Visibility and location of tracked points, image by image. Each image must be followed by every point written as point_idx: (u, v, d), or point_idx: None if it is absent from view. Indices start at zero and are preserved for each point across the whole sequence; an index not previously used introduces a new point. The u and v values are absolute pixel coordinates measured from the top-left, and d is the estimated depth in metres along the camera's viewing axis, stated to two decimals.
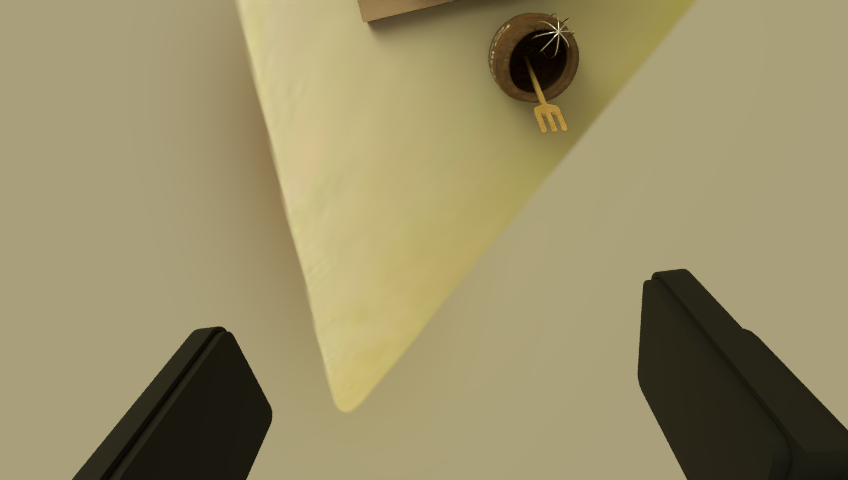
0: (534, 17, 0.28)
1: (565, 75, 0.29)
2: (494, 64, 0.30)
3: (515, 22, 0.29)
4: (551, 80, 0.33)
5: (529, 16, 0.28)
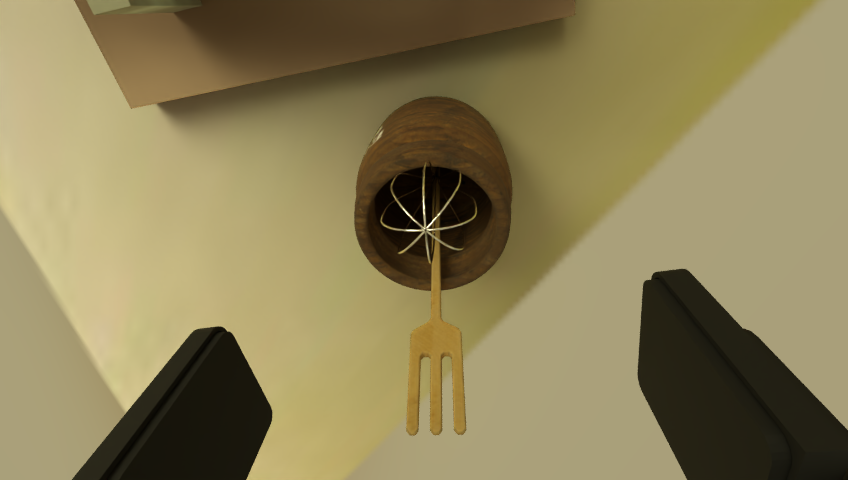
0: (423, 127, 0.14)
1: (489, 237, 0.15)
2: None
3: (389, 132, 0.14)
4: (480, 211, 0.19)
5: (415, 123, 0.14)
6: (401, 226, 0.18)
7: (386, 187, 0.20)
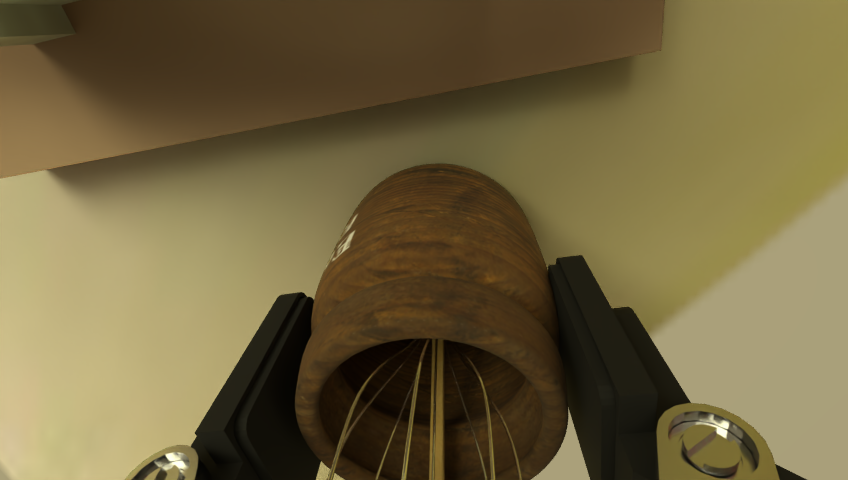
0: (416, 244, 0.08)
1: (525, 415, 0.09)
2: None
3: (361, 244, 0.09)
4: None
5: (403, 233, 0.08)
6: (388, 346, 0.13)
7: None
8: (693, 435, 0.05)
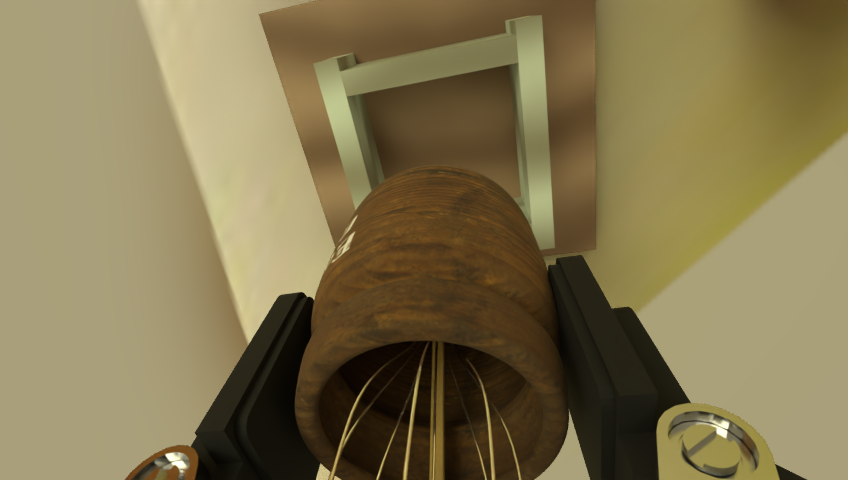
0: (416, 245, 0.08)
1: (526, 417, 0.09)
2: None
3: (361, 246, 0.09)
4: None
5: (403, 234, 0.08)
6: (388, 348, 0.13)
7: None
8: (693, 435, 0.05)
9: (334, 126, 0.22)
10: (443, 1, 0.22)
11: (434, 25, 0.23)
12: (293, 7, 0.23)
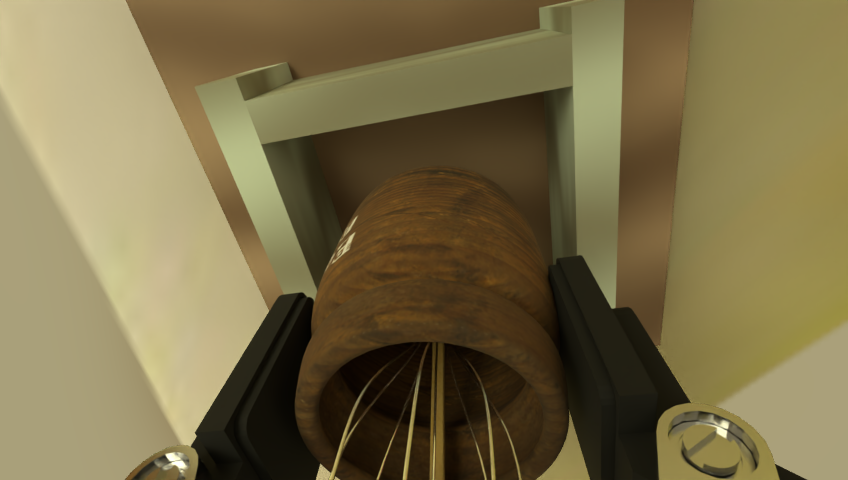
0: (416, 246, 0.08)
1: (526, 417, 0.09)
2: None
3: (361, 247, 0.09)
4: None
5: (403, 235, 0.08)
6: (388, 348, 0.13)
7: None
8: (693, 435, 0.05)
9: (245, 193, 0.13)
10: None
11: (419, 16, 0.14)
12: None
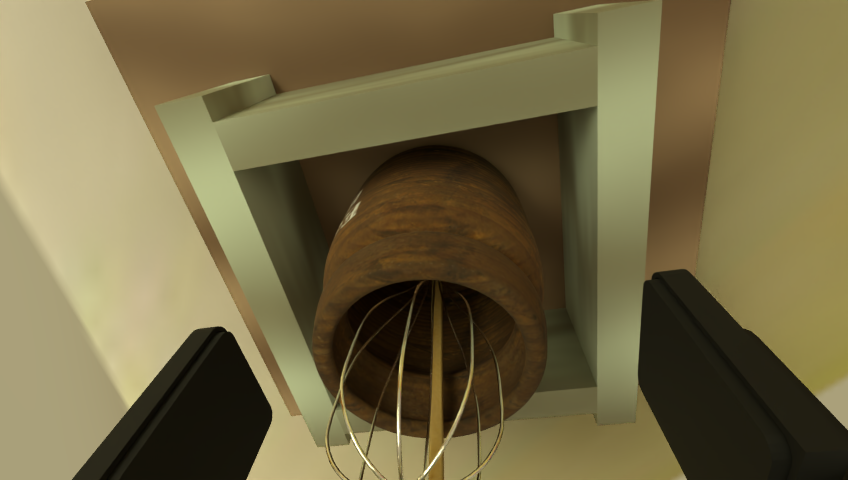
0: (414, 207, 0.09)
1: (514, 358, 0.10)
2: None
3: (366, 211, 0.10)
4: None
5: (402, 199, 0.10)
6: (392, 314, 0.14)
7: None
8: None
9: (217, 225, 0.11)
10: None
11: (417, 23, 0.12)
12: None
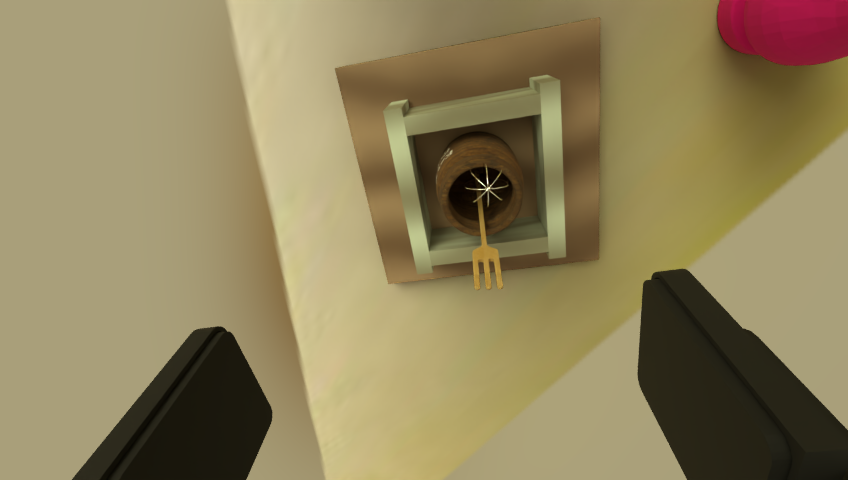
0: (476, 148, 0.26)
1: (511, 207, 0.27)
2: (437, 190, 0.28)
3: (457, 151, 0.27)
4: (503, 198, 0.31)
5: (471, 146, 0.26)
6: (456, 207, 0.31)
7: None
8: None
9: (395, 158, 0.28)
10: (481, 62, 0.28)
11: (473, 80, 0.29)
12: (362, 64, 0.29)
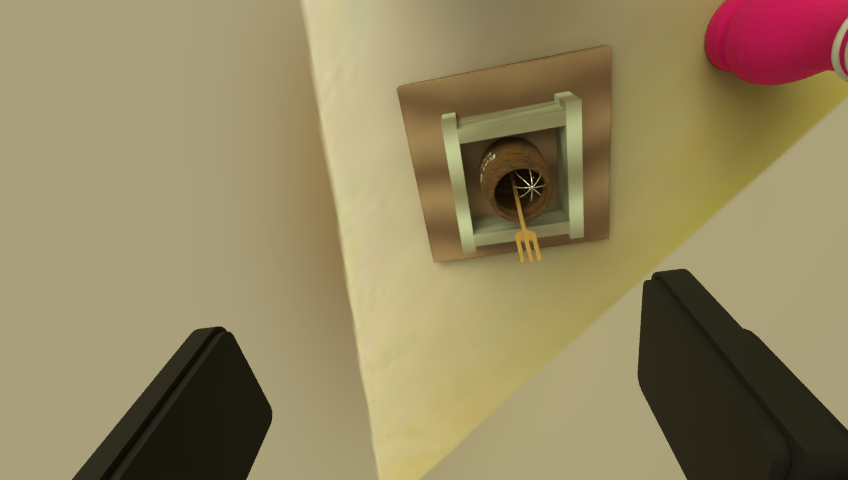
0: (515, 153, 0.33)
1: (542, 199, 0.34)
2: (482, 186, 0.35)
3: (499, 155, 0.34)
4: (533, 191, 0.38)
5: (511, 151, 0.34)
6: (495, 199, 0.38)
7: None
8: None
9: (449, 161, 0.35)
10: (515, 82, 0.35)
11: (509, 96, 0.36)
12: (419, 84, 0.36)
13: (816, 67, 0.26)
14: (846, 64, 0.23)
